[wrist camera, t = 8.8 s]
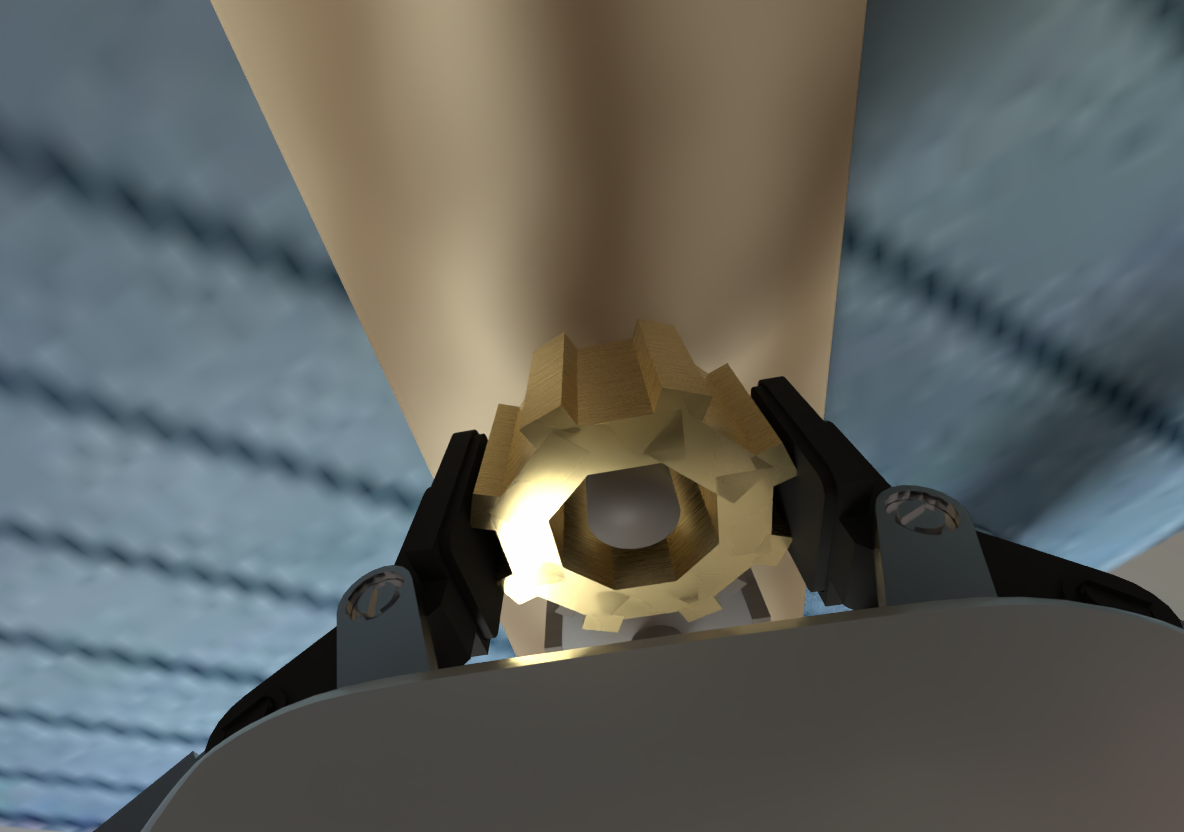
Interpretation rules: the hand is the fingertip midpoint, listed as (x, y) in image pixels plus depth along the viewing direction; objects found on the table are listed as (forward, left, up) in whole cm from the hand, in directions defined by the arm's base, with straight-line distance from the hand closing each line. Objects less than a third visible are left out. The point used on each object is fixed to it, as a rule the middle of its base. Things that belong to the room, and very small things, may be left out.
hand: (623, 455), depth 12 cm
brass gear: (0, 0, -1) cm, 1 cm away
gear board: (0, 0, -5) cm, 5 cm away
